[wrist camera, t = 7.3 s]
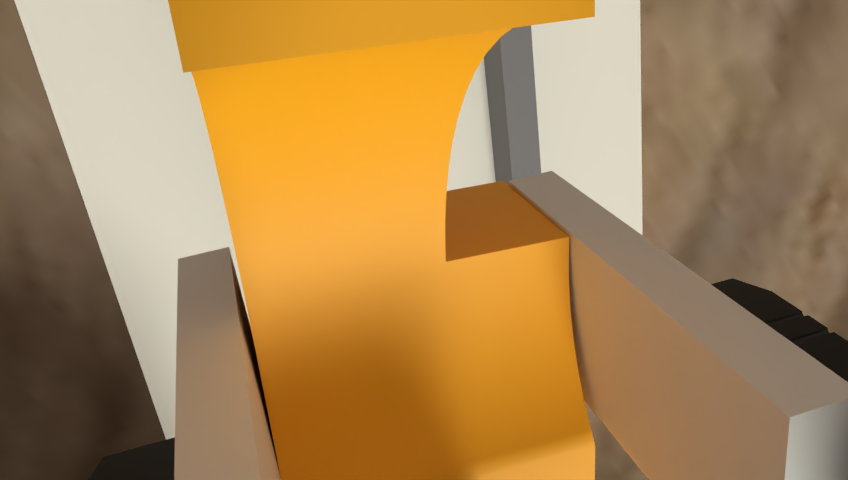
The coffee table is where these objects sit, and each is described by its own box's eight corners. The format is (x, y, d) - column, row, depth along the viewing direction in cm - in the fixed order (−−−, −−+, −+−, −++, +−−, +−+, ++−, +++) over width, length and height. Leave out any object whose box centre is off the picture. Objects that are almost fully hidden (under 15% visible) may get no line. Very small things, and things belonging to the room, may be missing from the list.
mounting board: (168, 419, 27) (167, 474, 25) (-55, -239, 19) (-92, -264, 16) (622, 290, 31) (665, 325, 28) (609, -303, 23) (667, -331, 20)
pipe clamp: (516, 486, 15) (715, 833, 10) (298, 546, 14) (374, 970, 9) (487, -211, 10) (871, -359, 5) (149, -189, 9) (95, -342, 4)
